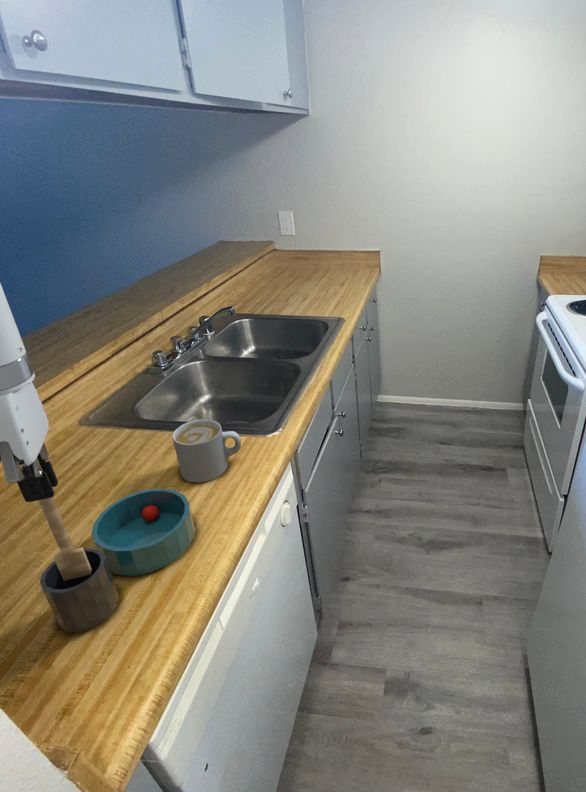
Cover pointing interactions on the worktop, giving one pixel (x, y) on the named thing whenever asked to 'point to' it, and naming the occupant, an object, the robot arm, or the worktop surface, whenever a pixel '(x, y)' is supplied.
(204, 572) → the worktop surface
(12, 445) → the robot arm
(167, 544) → the bowl
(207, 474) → the coffee mug
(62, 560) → the paddle
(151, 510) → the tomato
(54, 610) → the crock
